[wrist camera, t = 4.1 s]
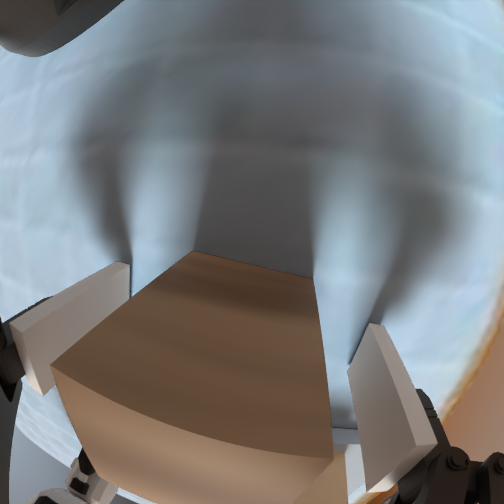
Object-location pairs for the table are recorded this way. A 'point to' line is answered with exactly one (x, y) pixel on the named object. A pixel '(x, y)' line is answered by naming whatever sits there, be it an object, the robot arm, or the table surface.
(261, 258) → the table surface
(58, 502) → the robot toy
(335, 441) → the board
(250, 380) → the walnut block
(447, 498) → the robot arm
